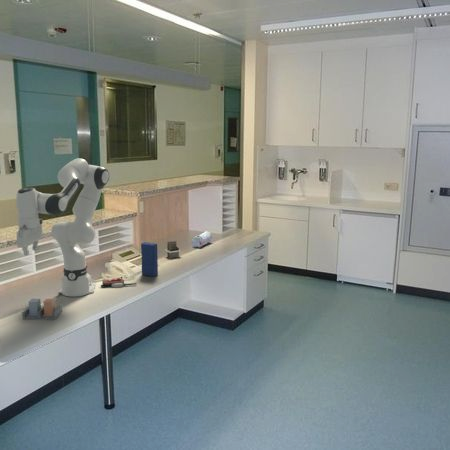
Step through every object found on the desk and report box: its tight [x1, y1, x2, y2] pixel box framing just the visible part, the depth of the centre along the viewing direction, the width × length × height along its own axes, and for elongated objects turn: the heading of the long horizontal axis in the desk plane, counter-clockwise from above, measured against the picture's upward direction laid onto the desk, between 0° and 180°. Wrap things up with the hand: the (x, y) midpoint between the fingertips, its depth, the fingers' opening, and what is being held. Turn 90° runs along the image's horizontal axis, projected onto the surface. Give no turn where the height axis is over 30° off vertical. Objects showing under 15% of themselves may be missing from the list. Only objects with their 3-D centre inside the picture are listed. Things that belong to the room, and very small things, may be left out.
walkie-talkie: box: [100, 276, 138, 288], centre depth 264 cm, size 9×4×20 cm
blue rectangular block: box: [140, 241, 159, 277], centre depth 282 cm, size 10×5×20 cm, turn 62°
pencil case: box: [191, 230, 213, 249], centre depth 359 cm, size 21×9×10 cm, turn 156°
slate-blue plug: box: [28, 298, 42, 315], centre depth 219 cm, size 4×4×6 cm
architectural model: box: [165, 240, 181, 259], centre depth 324 cm, size 19×17×11 cm
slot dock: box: [21, 304, 63, 321], centre depth 219 cm, size 10×15×4 cm, turn 90°
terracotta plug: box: [43, 298, 57, 315], centre depth 219 cm, size 4×4×6 cm
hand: (30, 252), depth 213 cm, fingers open, 8 cm apart
